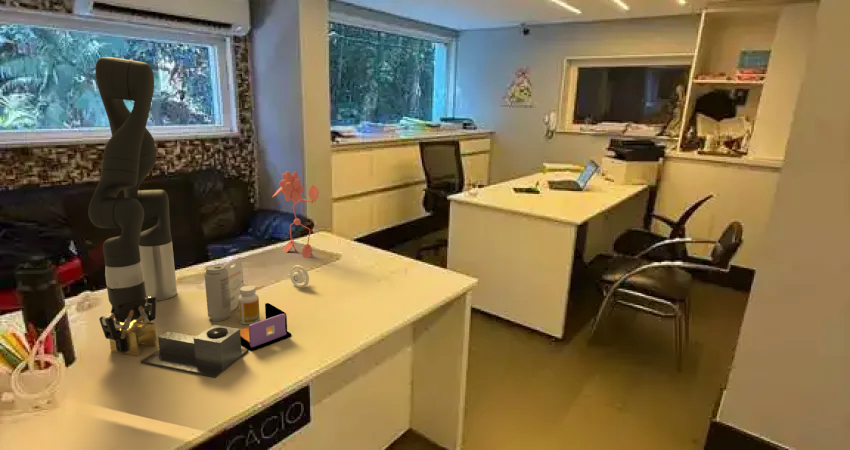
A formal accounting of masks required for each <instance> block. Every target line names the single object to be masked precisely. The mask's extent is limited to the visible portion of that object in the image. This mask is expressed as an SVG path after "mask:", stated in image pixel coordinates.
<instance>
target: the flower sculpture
mask: <svg viewBox="0 0 850 450" xmlns="http://www.w3.org/2000/svg"><path fill="white" fill-rule="evenodd" d="M281 177H282V179H281V180H280V181H279V183H278V185H279V186H280V187H279V188H278V189H277V190H276V191H275V193H274V194H273V195H272V198H274V197H276V196H277V195H278V194H279V193H280V192H281V193H282V195H284V199H285V201H286V202H289V201H290V200H291V201H292V202H293V203H294V204H292V210H293V214H294V219H293V222H292V223H291V224H290V225H289V233H290V235H289V237H290V240H289V241H288V242H287V243H286V244H285V246H284V248H283V252H284V253H289V252H290V250H292V248H293V249H294V250H295V251H296V250H297V248H296V246H295V241H294V239H292V225H295V226H299V225H300V226H302V227H303V228H305V229H308V230H309V232H308V237H307V238H308V239H307V243H306V244H305V245H304V246H303V248H302V250H301V253H302V257H303V258H306V259H307V258H310V257H311V256H312V255H313V253H312V252H313V248H312V246H311V244H309V241H310V236H311V229H310V228H309V227H307V226H305V225H303V224H302V223H301V222H302V221H301V219H300V218H298V217H297V215H296V211H295V206H296V205H297V204H299V203H300V202H301V201H304V202H308V203H311V204H313V203H314V202H316V201H317V199H318V198H319V193H320V191H319V189H318V188H317V186H316V185H314V184H311V186H310V187H309V189H308V193H307V194H308V197H309V198H310V200H309V199H305V198H304V197H302V195H301V194H302V193H304V192H305V188H304V186H302V185H301V182H302V181H301V179H300V178H299V175H298V173H297V171H294V172H293V173H291V172H290V171H289V170H286V171H285V173H284V172H283V173H282V174H281Z"/></svg>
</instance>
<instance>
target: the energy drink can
mask: <svg viewBox="0 0 850 450" xmlns="http://www.w3.org/2000/svg"><path fill="white" fill-rule="evenodd" d="M204 284H205V285H204V286H205V293H206V294H205V295H206V307H207V317H208V318H209V319H210V320H211V321H213V322H219V321H220V322H221V321H225V320H227V319H229V318H230V316H231V314H232V311H231V304H230V290H229V277H228V271H227V269H226V268H225V264H211V265H209V266H207V267H206V270H205V272H204Z"/></svg>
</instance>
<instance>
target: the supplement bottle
mask: <svg viewBox="0 0 850 450" xmlns="http://www.w3.org/2000/svg"><path fill="white" fill-rule="evenodd" d="M256 291H257V290H256V286H255V285H244V287H241V288H240V294H241V295H240V296H239V297H238V307H237V308H238V317H239V318H238V320H239V322H240V324H243V325H250V324H253V323H256V322H259V321H260V319H261V317H260V316H261V315H260V298H259V295H258V294H257V293H256Z"/></svg>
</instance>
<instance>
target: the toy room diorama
mask: <svg viewBox="0 0 850 450" xmlns="http://www.w3.org/2000/svg"><path fill="white" fill-rule="evenodd" d="M264 313H265V319H263V320H259V321H257V322H256V323H252V324H248V326H247V327H244V328H240V337H241V347H243V348H244V349H248V352H255V351H257V350H261V349H263V348H265V347H268V346H271V345H274V344H276V343H279V342H281V341H284V340H287V339H289V338H291V337H292V336H293V335H292V333H291V332H289V331H288V317H287V313H286V312H285V311H283V310H282V309H279V308H278V307H276V306H274V305H273V304H271V303H269V302H266V303H264Z"/></svg>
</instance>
